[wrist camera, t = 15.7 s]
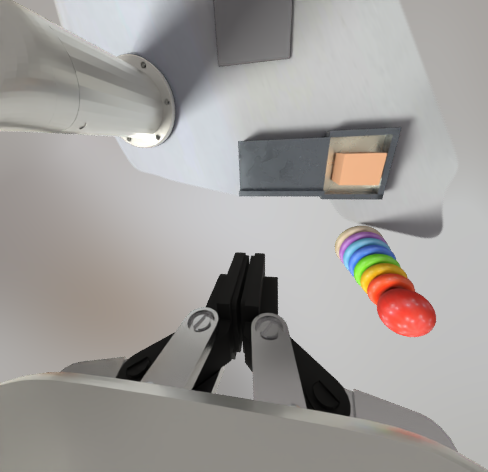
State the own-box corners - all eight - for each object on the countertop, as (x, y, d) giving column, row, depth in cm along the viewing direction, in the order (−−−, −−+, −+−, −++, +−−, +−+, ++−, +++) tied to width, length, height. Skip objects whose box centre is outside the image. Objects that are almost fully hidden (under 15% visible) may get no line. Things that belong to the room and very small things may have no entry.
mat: (219, 66, 28) (218, 65, 28) (213, -14, 25) (212, -16, 24) (289, 58, 26) (289, 57, 26) (293, -28, 23) (293, -31, 23)
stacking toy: (351, 216, 34) (420, 285, 17) (390, 235, 34) (497, 322, 18) (325, 250, 38) (361, 335, 21) (361, 267, 38) (426, 365, 21)
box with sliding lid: (244, 194, 35) (239, 200, 31) (242, 136, 31) (236, 134, 27) (373, 194, 32) (386, 201, 28) (389, 128, 28) (408, 126, 24)
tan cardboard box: (339, 185, 27) (378, 185, 26) (344, 153, 25) (387, 152, 24) (330, 179, 31) (364, 179, 30) (334, 152, 29) (370, 151, 29)
